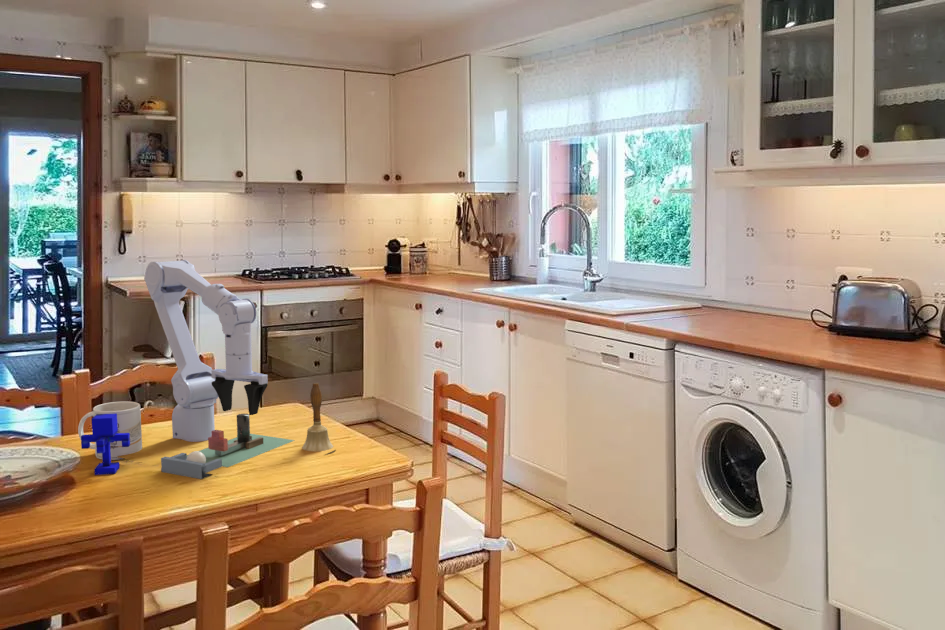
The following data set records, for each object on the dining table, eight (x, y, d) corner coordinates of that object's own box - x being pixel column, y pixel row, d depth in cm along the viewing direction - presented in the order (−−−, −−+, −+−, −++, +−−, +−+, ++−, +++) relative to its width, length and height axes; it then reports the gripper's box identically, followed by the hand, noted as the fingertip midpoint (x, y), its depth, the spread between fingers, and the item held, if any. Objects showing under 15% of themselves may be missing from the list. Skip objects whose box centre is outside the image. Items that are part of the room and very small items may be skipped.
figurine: (133, 470, 178) (131, 415, 177) (100, 479, 172) (97, 422, 171) (113, 463, 183) (110, 409, 181) (80, 472, 177) (77, 416, 175)
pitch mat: (177, 462, 184) (177, 458, 183) (248, 437, 204) (247, 433, 204) (227, 471, 178) (227, 467, 178) (294, 444, 198) (294, 440, 198)
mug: (110, 463, 183) (108, 414, 181) (77, 455, 189) (74, 407, 188) (151, 452, 192) (149, 404, 190) (118, 444, 198) (116, 398, 196)
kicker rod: (208, 454, 185) (207, 423, 184) (240, 442, 195) (239, 412, 194) (223, 457, 183) (222, 425, 182) (255, 445, 193) (255, 414, 192)
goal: (161, 471, 177) (161, 458, 177) (182, 463, 183) (182, 450, 182) (201, 479, 173) (201, 465, 172) (222, 470, 178) (221, 457, 178)
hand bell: (329, 457, 188) (327, 387, 186) (293, 455, 190) (292, 385, 188) (340, 447, 196) (339, 380, 195) (307, 445, 198) (305, 378, 196)
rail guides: (234, 446, 193) (233, 440, 192) (248, 441, 197) (248, 435, 197) (249, 449, 191) (248, 443, 191) (263, 443, 195) (263, 437, 195)
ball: (188, 446, 179) (198, 455, 182) (179, 462, 177) (189, 472, 180) (202, 448, 178) (212, 458, 180) (193, 465, 175) (203, 474, 178)
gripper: (201, 353, 188) (203, 412, 190) (252, 358, 182) (253, 419, 184) (222, 348, 195) (224, 405, 196) (273, 353, 189) (274, 412, 190)
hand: (240, 412), depth 191 cm, fingers open, 7 cm apart
